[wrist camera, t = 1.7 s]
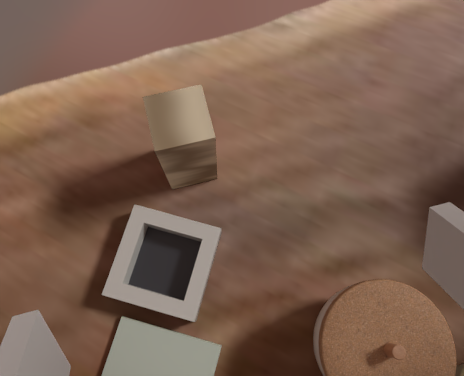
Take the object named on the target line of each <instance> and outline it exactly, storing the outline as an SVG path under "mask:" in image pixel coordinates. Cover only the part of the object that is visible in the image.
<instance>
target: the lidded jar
mask: <svg viewBox="0 0 464 376" xmlns="http://www.w3.org/2000/svg"><path fill="white" fill-rule="evenodd" d="M313 346H314V353H315V358H316V361H317V364H318V367H319V369H320V371H321V373H322V375H323V376H455V373H456V349H455V343H454V340H453V336H452V333H451V331H450V328H449V326H448V324H447V322H446V320H445V318H444V317H443V315H442V314H441V312H440V311H439V310H438V308H437V307H436V306H435V305H434V303H433V302H431V301H430V300H429V299H428V298H427V297H426V296H425V295H424V294H422V293H421V292H419V291H418V290H416V289H415V288H413V287H411V286H409V285H407V284H404V283H401V282H398V281H393V280H387V279H374V280H368V281H363V282H360V283H357V284H354V285H351V286H348V287H346V288H344V289H342V290H340V291H339V292H337V293H336V294H334V295H333V296H332V297H331V298H330V299H329V300H328V301H327V302H326V303H325V304H324V306H323V307H322V309H321V311H320V312H319V315H318V317H317V319H316V323H315V327H314V333H313Z"/></svg>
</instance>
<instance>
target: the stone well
mask: <svg viewBox="0 0 464 376" xmlns="http://www.w3.org/2000/svg"><path fill="white" fill-rule="evenodd" d="M220 236H221V228H218V227H214V226H211V225H207V224H203V223H200V222H196V221H193V220H189V219H186V218H182V217H178V216H175V215H171V214H168V213H164V212H160V211H157V210H153V209H150V208H146V207H143V206H139V205H135V204H134V207H133V210H132V212H131V215H130V218H129V221H128V223H127V226H126V229H125V232H124V234H123V237H122V240H121V243H120V245H119V248H118V251H117V254H116V256H115V259H114V262H113V265H112V268H111V270H110V273H109V276H108V279H107V281H106V284H105V287H104V290H103V292H102V295H104V296H107V297H110V298H114V299H117V300H121V301H124V302H128V303H131V304H134V305H138V306H141V307H145V308H148V309H151V310H155V311H158V312H162V313H165V314H168V315H172V316H175V317H179V318H182V319H185V320H189V321H192V322H195V321H196V320H197V316H198V313H199V309H200V306H201V302H202V299H203V295H204V292H205V288H206V285H207V281H208V278H209V275H210V271H211V268H212V264H213V261H214V257H215V254H216V250H217V247H218V243H219V240H220Z"/></svg>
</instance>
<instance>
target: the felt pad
mask: <svg viewBox="0 0 464 376" xmlns="http://www.w3.org/2000/svg"><path fill="white" fill-rule="evenodd" d="M221 346H222V345H219V344H216V343H213V342H209V341H206V340H202V339H199V338H196V337H192V336H189V335H185V334H182V333H179V332H175V331H172V330H169V329H165V328H162V327H158V326H155V325H152V324H148V323H145V322H141V321H138V320H135V319H131V318H128V317H125V316H122V317H121V320H120V323H119V326H118V329H117V331H116V334H115V337H114V340H113V343H112V346H111V349H110V352H109V355H108V358H107V361H106V364H105V367H104V369H103V372H102V375H101V376H214V373H215V369H216V365H217V361H218V357H219V354H220V350H221Z"/></svg>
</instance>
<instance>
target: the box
mask: <svg viewBox="0 0 464 376" xmlns="http://www.w3.org/2000/svg"><path fill="white" fill-rule="evenodd" d="M455 376H464V363H462V364H461V365H456V373H455Z"/></svg>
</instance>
